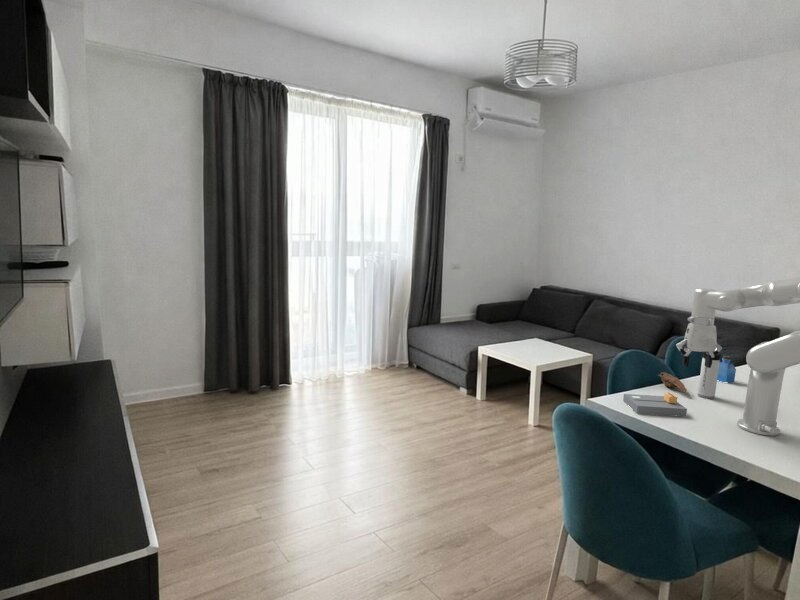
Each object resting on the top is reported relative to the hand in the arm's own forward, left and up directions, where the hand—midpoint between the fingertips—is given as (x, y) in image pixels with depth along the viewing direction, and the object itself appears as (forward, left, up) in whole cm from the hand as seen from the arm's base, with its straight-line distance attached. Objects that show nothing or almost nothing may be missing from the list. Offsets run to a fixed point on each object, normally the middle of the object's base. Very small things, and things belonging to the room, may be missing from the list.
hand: (696, 366), depth 193 cm
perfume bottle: (+47, -38, -18) cm, 63 cm away
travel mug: (+20, -16, -18) cm, 31 cm away
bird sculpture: (+29, -6, -18) cm, 35 cm away
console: (0, +14, -18) cm, 23 cm away
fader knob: (0, +8, -15) cm, 17 cm away
